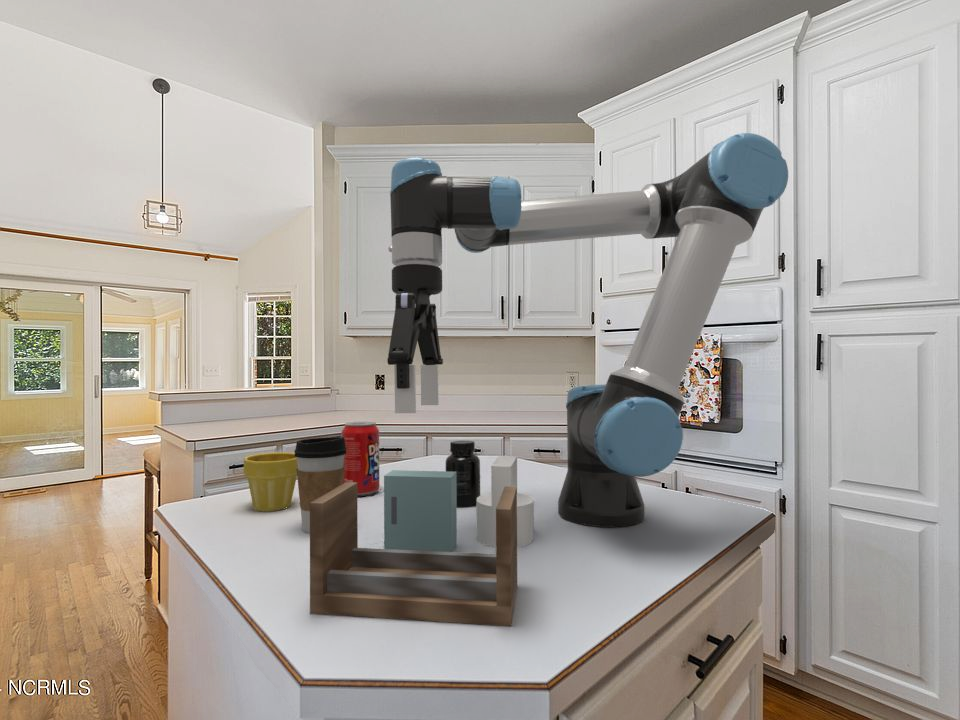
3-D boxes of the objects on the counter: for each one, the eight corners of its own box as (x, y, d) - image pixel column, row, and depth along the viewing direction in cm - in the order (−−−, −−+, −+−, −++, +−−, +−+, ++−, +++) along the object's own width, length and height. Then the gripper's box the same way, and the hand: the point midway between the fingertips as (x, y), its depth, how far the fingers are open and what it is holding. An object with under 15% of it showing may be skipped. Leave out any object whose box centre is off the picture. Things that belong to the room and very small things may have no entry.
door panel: (456, 544, 76) (456, 471, 76) (451, 554, 72) (451, 477, 72) (392, 541, 78) (392, 470, 78) (384, 551, 74) (384, 475, 74)
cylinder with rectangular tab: (531, 549, 74) (531, 467, 74) (471, 546, 76) (471, 465, 76) (535, 529, 83) (535, 456, 83) (481, 527, 85) (481, 455, 85)
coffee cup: (332, 537, 80) (331, 442, 80) (283, 534, 81) (283, 441, 82) (355, 521, 88) (355, 435, 88) (311, 519, 90) (311, 434, 90)
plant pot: (312, 503, 100) (312, 453, 100) (271, 517, 91) (271, 462, 91) (274, 497, 104) (274, 450, 105) (231, 510, 95) (231, 458, 95)
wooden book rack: (517, 584, 62) (516, 486, 62) (511, 626, 52) (510, 509, 52) (346, 575, 65) (346, 482, 65) (310, 613, 55) (309, 503, 55)
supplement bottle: (487, 501, 101) (486, 440, 101) (467, 509, 95) (467, 445, 95) (458, 496, 104) (458, 438, 104) (438, 504, 98) (438, 442, 99)
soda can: (334, 493, 108) (334, 422, 108) (367, 486, 113) (367, 419, 113) (353, 500, 102) (352, 425, 102) (386, 493, 107) (386, 422, 108)
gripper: (415, 281, 89) (416, 402, 88) (361, 249, 64) (363, 417, 64) (457, 279, 88) (458, 402, 87) (419, 246, 63) (421, 417, 63)
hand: (418, 408), depth 76 cm, fingers open, 13 cm apart
